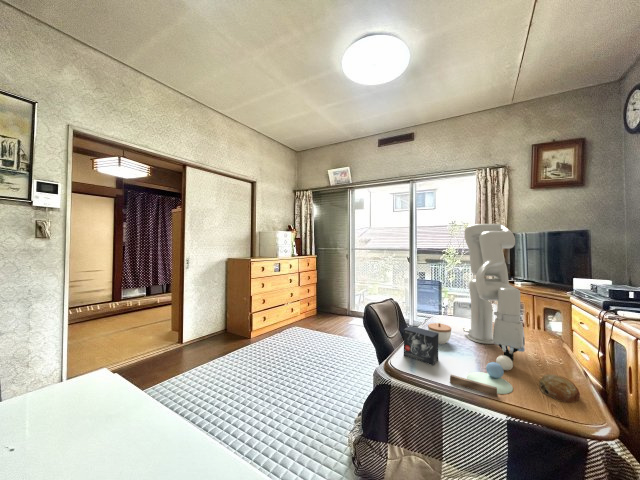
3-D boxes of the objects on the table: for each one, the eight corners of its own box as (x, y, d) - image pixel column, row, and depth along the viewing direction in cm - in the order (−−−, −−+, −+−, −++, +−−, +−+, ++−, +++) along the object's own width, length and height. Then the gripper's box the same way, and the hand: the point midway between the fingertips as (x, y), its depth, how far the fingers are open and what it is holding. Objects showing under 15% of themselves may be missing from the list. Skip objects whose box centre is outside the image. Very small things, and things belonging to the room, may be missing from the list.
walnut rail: (450, 382, 94) (450, 375, 94) (450, 381, 95) (450, 374, 95) (496, 396, 86) (496, 389, 86) (496, 394, 87) (496, 387, 87)
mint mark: (459, 380, 96) (459, 380, 96) (475, 368, 104) (475, 368, 104) (504, 399, 85) (504, 398, 85) (518, 384, 93) (518, 383, 93)
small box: (402, 355, 116) (403, 329, 116) (409, 351, 121) (409, 325, 121) (432, 365, 107) (433, 336, 107) (439, 360, 112) (439, 332, 112)
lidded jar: (450, 339, 135) (450, 321, 135) (451, 347, 125) (451, 328, 125) (428, 336, 139) (428, 318, 139) (427, 343, 129) (427, 324, 129)
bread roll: (536, 396, 92) (527, 376, 92) (560, 382, 93) (552, 363, 93) (565, 415, 83) (555, 393, 82) (591, 400, 83) (582, 377, 83)
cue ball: (499, 352, 108) (497, 366, 107) (495, 353, 105) (493, 367, 104) (515, 357, 104) (514, 372, 103) (511, 358, 100) (510, 373, 100)
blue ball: (489, 372, 102) (483, 376, 98) (489, 358, 102) (483, 361, 98) (505, 378, 97) (500, 382, 94) (506, 363, 98) (500, 367, 94)
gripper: (485, 314, 111) (484, 357, 111) (528, 323, 99) (528, 371, 99) (491, 311, 115) (491, 353, 116) (534, 320, 104) (534, 366, 104)
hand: (508, 361), depth 107 cm, fingers closed
